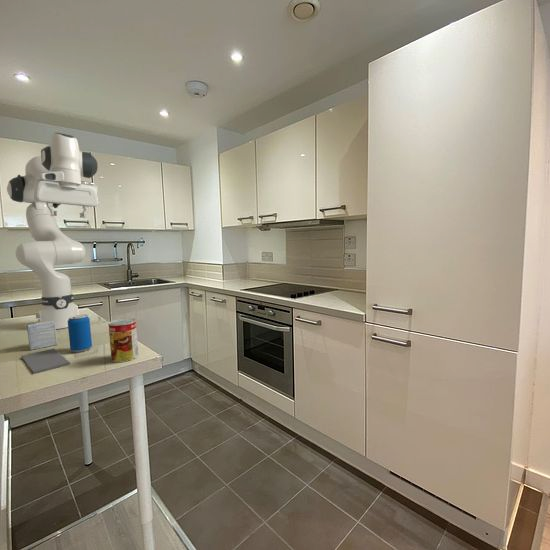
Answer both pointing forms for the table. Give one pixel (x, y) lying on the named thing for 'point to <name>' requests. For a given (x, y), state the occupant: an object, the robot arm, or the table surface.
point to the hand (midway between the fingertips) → (68, 216)
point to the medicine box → (41, 335)
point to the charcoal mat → (44, 360)
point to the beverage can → (79, 333)
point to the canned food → (123, 339)
